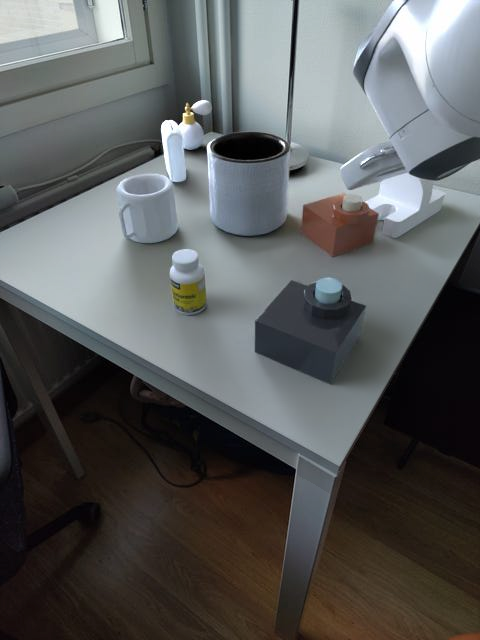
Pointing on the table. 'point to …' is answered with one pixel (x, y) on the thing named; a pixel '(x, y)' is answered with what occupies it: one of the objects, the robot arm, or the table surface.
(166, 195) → the mug
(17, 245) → the table surface
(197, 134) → the perfume bottle
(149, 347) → the table surface
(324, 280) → the light blue push button
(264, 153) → the planter
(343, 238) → the orange push button block
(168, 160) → the white rounded-top slab
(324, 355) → the grey push button box
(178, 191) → the table surface
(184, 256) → the supplement bottle
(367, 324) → the table surface
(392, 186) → the tape dispenser
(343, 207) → the round white push button
